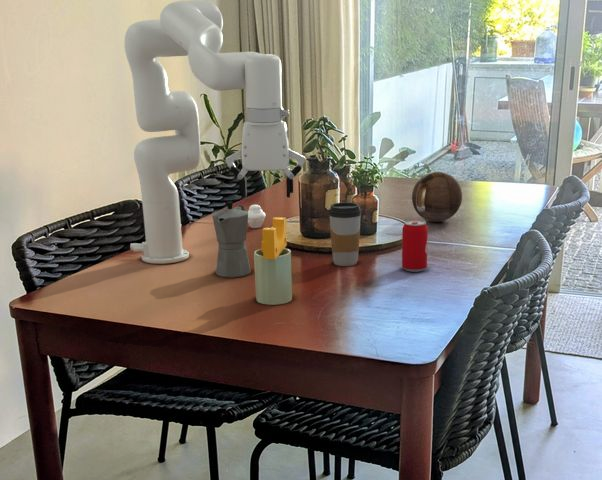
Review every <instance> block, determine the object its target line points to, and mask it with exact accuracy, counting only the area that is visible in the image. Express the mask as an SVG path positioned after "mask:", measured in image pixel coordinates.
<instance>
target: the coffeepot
mask: <svg viewBox="0 0 602 480" xmlns="http://www.w3.org/2000/svg"><path fill="white" fill-rule="evenodd" d="M233 205H234V202H233V201H230V200H229V201H226V206H227V208H225V209H222V210H218V211H214V212H212V214H211V215H212V221H213V227H214V231H215V236H216V241H217V243H218V246H217V247H218V248H217V259H216V270H215V274H216V275H217V276H219V277H222V278H241V277H245V276H248V275H250V274H251V271H252V270H251V265H250V261H249V255H248V250H247V245H246V240H247V232H248V210H245V207H244V205H242V204H239V205H238V206H235V207H234V208H233Z"/></svg>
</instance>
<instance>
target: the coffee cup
mask: <svg viewBox="0 0 602 480" xmlns="http://www.w3.org/2000/svg"><path fill="white" fill-rule="evenodd" d="M328 216H329V225H330V228H329V231H330V245H331V252H332V253H331V254H332V262H333V264H334V265H336V266H338V267H351V266H355V265H356V264H357V262H358V261H359V251H360V238H361V216H362V209H361V206H360V204H359V203H357V202H349V201H348V202H347V201H346V202H345V201H343V202H336V203H332V204H330V208H329V209H328Z"/></svg>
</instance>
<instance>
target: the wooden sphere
mask: <svg viewBox="0 0 602 480" xmlns="http://www.w3.org/2000/svg"><path fill="white" fill-rule="evenodd" d="M411 202H412V206H413V208H414V210H415V212H416V213H417V215H419V217H421V218H422V219H424V220H426V221H428V222H432V223H441V222H444V221H447V220H450V219H451V218H453V216H454V215H456V214H457V212H458V211H459V209H460V207H461V205H462V202H463V191H462V187H461V185H460V183H459V182H458V181H457V179H456V177H454V176H452V174H449V173H447V172H445V171H431V172H429V173H426V174H424V175H423V176H421V177H420V178H419V179H418V180H417V181H416V183H415V184H414V187H413V189H412V193H411Z"/></svg>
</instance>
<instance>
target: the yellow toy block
mask: <svg viewBox="0 0 602 480" xmlns="http://www.w3.org/2000/svg"><path fill="white" fill-rule="evenodd" d="M261 234H262V237H261V238H262V240H261V241H260V246H261V247H260V249H261V251H262V252H263V259H276V258H277V256H278V255H279V254H280V253H281V252H282V250H283V249H284V248H287V246H288V243H287V240H288V239H287V217H282V216H279V217H278V216H275V217H273V218H272V227H263V228H262V229H261Z"/></svg>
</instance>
